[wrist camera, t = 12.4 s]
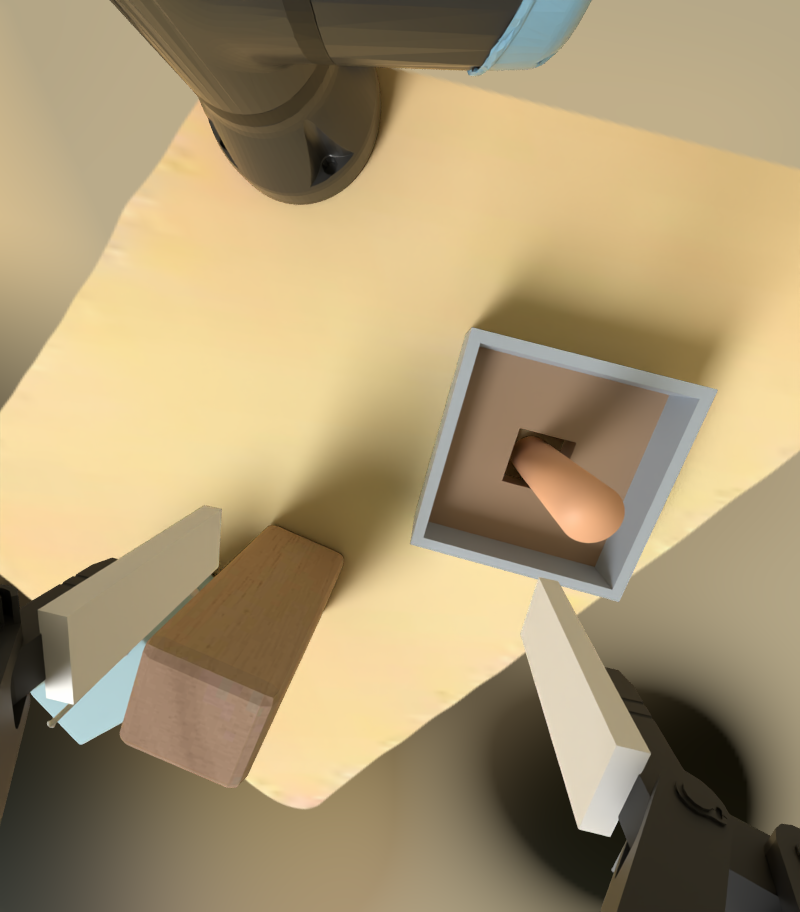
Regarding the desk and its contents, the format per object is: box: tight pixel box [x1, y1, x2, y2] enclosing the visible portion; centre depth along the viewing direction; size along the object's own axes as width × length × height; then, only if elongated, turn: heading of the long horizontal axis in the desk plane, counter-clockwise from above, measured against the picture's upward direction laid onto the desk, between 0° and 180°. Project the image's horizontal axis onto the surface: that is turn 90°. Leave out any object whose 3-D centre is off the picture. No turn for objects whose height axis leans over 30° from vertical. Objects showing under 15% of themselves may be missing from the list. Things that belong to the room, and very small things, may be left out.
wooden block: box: [120, 525, 344, 788], centre depth 35 cm, size 10×10×20 cm
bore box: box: [410, 327, 718, 602], centre depth 36 cm, size 20×20×7 cm
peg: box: [511, 436, 625, 543], centre depth 31 cm, size 4×4×16 cm
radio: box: [31, 575, 214, 744], centre depth 39 cm, size 16×9×20 cm, turn 124°
